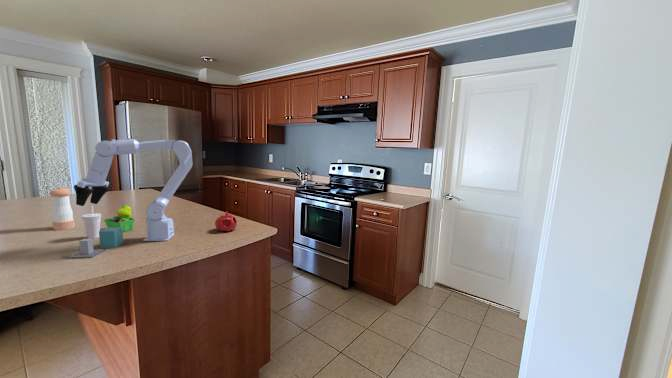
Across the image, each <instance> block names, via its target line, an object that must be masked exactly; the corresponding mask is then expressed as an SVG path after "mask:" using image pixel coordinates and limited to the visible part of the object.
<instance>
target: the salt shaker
mask: <svg viewBox="0 0 672 378" xmlns="http://www.w3.org/2000/svg"><path fill="white" fill-rule="evenodd" d="M71 194H72V191H71V190H70V189H69V188H65V187H64V188H63V187H62V186H59V187H57V188H53V189H51V190H50V191H49V196H50V197H52V206H53V207H52V219H53V221H52V229H53V230H54V231H61V230H69V229H74V228H75V226H76V225H75V219H74V213H73V209H72V206H71V201H70V200H71V199H70V195H71Z"/></svg>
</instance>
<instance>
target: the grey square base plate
mask: <svg viewBox="0 0 672 378" xmlns="http://www.w3.org/2000/svg"><path fill="white" fill-rule="evenodd" d="M93 240H94V238H91V239H89V238H82V239H80V240H79V242H78V243H79V251H78V252H76V253H74V254H71V255H70V256H68V259H93V258H95V257H96V256H97V255H100V254H101V253H103V252H105V249H106V248H99V249H96V248H94V241H93Z"/></svg>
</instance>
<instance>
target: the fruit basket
mask: <svg viewBox="0 0 672 378" xmlns="http://www.w3.org/2000/svg"><path fill="white" fill-rule="evenodd" d="M130 206H131V205H128V204H125V205H123V206H122V207H121V208H119V209H118V210H117V211H116V215H117V216H113V217H110V218H106V219H104V220H103V221H104V222H105V225H106V228H110V227H122V233H125V232H129V231H133V230H134V229H133V228H134V224H135V221H136V218H133V217H131V216H132V207H130Z"/></svg>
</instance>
